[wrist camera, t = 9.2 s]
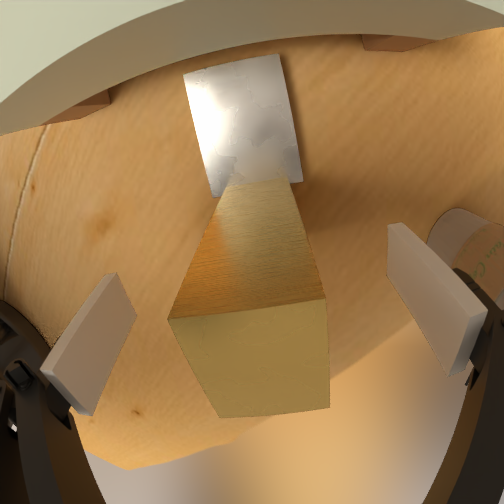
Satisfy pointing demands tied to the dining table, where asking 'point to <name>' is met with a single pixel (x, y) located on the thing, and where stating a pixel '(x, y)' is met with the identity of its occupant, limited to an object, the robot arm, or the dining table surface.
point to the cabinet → (185, 40)
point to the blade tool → (252, 253)
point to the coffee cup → (472, 249)
